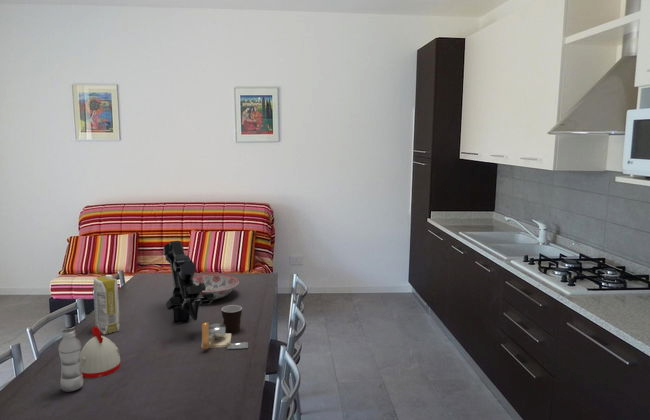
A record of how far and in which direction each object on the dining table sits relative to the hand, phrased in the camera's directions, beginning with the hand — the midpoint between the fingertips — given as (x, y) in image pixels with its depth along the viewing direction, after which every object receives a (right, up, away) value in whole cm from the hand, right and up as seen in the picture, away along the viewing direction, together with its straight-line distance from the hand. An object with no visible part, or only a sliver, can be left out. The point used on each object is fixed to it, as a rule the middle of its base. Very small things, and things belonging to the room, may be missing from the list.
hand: (195, 320), depth 189 cm
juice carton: (-40, -7, +10) cm, 42 cm away
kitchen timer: (-28, -12, -22) cm, 38 cm away
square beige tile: (+8, -9, +1) cm, 12 cm away
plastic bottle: (-30, -14, -36) cm, 49 cm away
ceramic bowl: (-7, -1, +54) cm, 55 cm away
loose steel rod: (+18, -8, -6) cm, 21 cm away
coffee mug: (+13, -7, +13) cm, 20 cm away
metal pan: (+7, -8, -3) cm, 11 cm away
